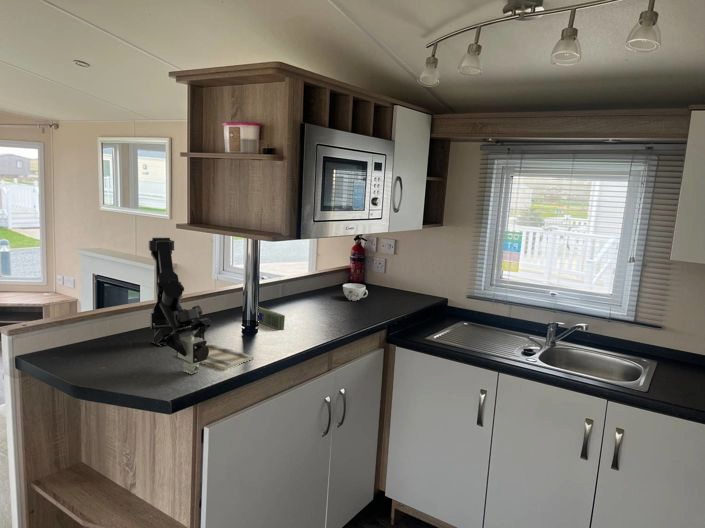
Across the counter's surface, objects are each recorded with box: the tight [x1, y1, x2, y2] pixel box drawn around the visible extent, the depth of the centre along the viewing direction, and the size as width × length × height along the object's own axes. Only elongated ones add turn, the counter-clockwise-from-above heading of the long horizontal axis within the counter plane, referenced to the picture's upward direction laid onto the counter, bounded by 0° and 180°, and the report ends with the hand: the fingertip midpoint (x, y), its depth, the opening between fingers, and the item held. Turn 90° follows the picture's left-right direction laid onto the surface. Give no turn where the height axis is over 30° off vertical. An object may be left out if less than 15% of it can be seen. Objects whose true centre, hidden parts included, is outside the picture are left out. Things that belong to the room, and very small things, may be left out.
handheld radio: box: [258, 306, 286, 331], centre depth 221 cm, size 7×3×25 cm
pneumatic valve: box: [175, 334, 209, 375], centre depth 161 cm, size 6×12×12 cm, turn 54°
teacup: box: [342, 282, 369, 302], centre depth 277 cm, size 15×12×8 cm
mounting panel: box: [199, 342, 255, 371], centre depth 176 cm, size 22×14×2 cm, turn 59°
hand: (195, 353), depth 160 cm, fingers open, 7 cm apart
